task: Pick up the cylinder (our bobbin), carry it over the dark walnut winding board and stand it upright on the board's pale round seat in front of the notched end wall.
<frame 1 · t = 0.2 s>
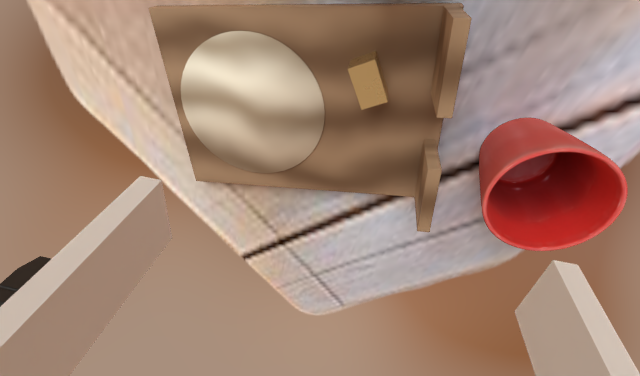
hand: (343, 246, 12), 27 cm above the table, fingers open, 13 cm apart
flower pot: (517, 149, 38), on the table
board: (304, 106, 39), on the table
wooden block: (369, 75, 34), point 1 cm above the table, touching board
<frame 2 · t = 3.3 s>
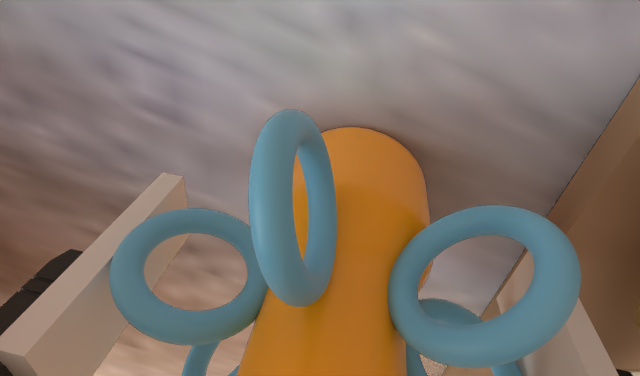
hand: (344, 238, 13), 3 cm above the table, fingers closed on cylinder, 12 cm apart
cylinder: (354, 183, 15), on the table, touching gripper
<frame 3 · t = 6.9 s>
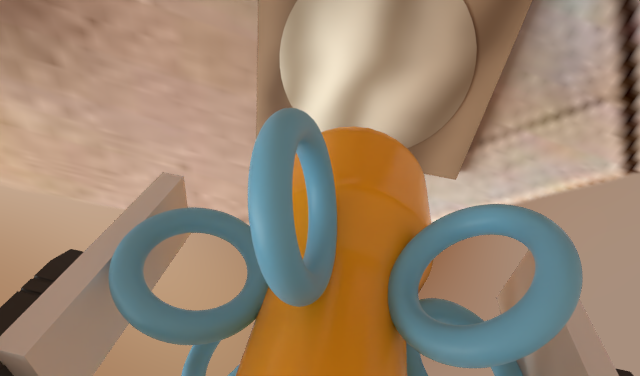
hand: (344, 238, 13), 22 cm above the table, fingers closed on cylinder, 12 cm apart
cylinder: (354, 183, 15), point 19 cm above the table, touching gripper
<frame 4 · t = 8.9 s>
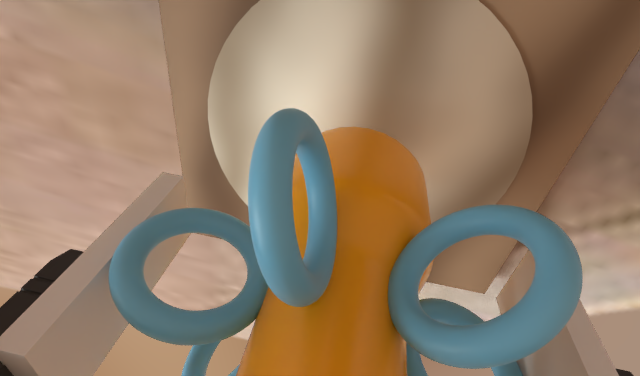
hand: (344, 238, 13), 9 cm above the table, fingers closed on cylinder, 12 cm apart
board: (382, 25, 16), on the table
cylinder: (354, 183, 15), point 5 cm above the table, touching gripper
when the fingers open (6 cm above the table, at t = 10.4 s): cylinder drops 1 cm, resting on board.
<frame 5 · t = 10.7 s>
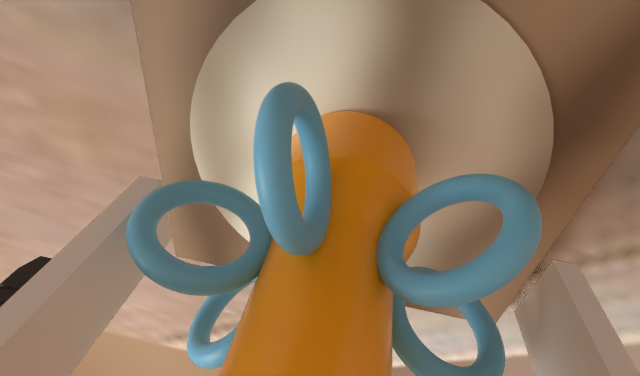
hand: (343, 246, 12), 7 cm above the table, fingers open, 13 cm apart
board: (383, 37, 14), on the table
cylinder: (349, 166, 16), point 2 cm above the table, touching board
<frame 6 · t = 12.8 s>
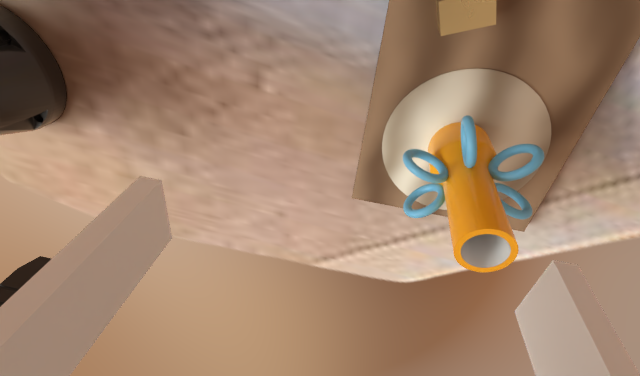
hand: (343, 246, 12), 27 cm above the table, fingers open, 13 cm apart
board: (477, 90, 34), on the table
wooden block: (462, 7, 29), point 1 cm above the table, touching board
cylinder: (458, 146, 36), point 2 cm above the table, touching board
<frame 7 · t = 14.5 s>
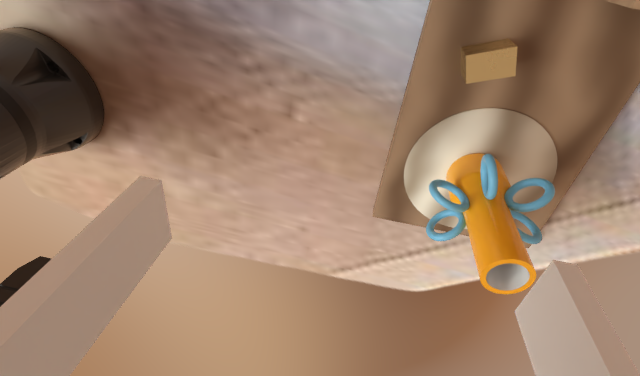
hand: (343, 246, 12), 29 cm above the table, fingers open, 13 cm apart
board: (492, 125, 38), on the table
wooden block: (483, 56, 33), point 1 cm above the table, touching board
cylinder: (473, 173, 40), point 2 cm above the table, touching board
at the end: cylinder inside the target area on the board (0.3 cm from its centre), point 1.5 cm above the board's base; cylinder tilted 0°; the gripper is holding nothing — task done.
